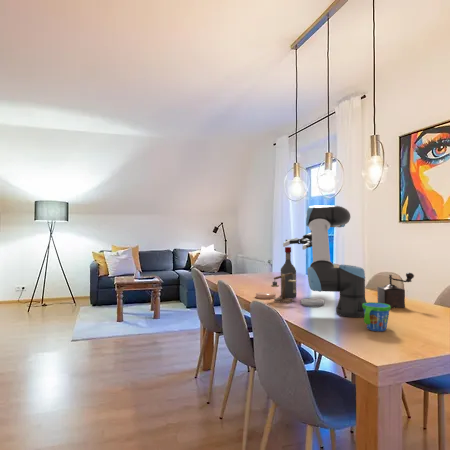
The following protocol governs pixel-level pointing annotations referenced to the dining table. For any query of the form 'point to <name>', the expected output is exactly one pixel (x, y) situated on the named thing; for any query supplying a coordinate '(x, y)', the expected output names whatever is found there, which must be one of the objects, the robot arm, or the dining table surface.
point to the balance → (283, 288)
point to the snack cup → (376, 315)
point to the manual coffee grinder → (393, 293)
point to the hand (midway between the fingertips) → (293, 246)
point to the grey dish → (312, 302)
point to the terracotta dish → (265, 295)
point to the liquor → (286, 269)
